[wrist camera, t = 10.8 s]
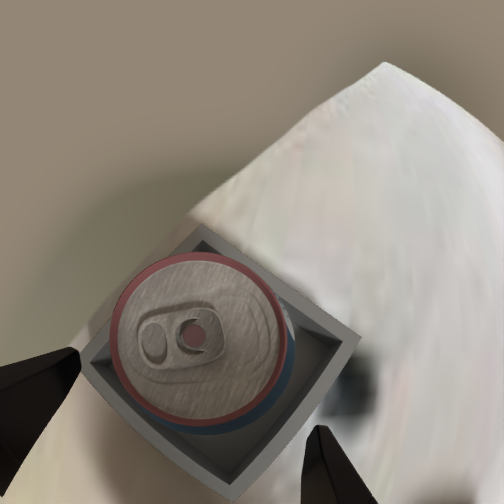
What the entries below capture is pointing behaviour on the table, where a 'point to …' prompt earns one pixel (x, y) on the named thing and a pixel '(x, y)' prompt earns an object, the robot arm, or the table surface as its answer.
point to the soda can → (202, 343)
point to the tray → (267, 426)
